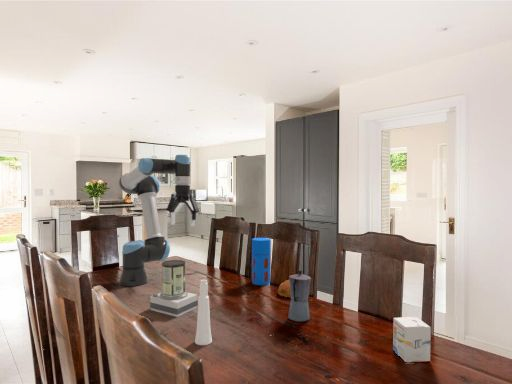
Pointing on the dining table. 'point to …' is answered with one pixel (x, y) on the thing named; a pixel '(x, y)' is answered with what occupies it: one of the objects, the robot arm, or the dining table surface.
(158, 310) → the kitchen scale
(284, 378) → the dining table surface
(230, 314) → the dining table surface
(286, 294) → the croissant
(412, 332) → the ink box
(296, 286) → the moka pot
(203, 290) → the cosmetic bottle
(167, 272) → the coffee can
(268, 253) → the thermos
